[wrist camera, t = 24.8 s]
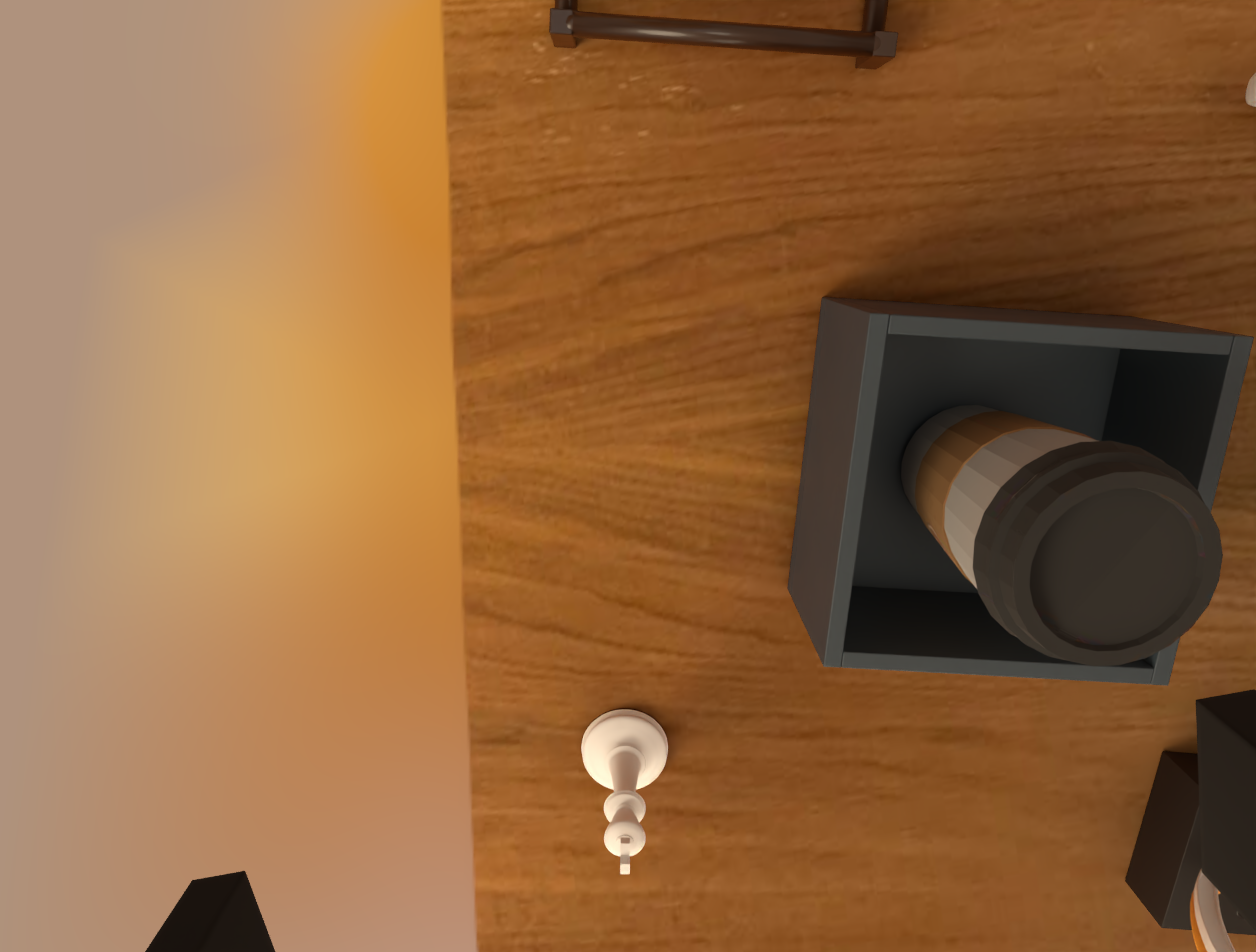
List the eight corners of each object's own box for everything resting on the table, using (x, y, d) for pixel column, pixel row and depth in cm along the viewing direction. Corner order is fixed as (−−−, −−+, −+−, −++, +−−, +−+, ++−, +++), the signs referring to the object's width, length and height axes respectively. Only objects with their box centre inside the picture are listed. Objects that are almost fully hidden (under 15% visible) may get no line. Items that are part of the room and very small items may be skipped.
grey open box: (787, 589, 48) (823, 667, 40) (821, 296, 44) (870, 312, 36) (1071, 605, 49) (1168, 685, 40) (1131, 316, 45) (1254, 336, 36)
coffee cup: (844, 483, 46) (947, 598, 31) (951, 350, 44) (1112, 407, 30) (967, 570, 47) (1121, 720, 33) (1075, 445, 45) (1289, 544, 31)
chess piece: (581, 784, 51) (572, 912, 42) (581, 708, 50) (571, 821, 41) (667, 785, 52) (677, 912, 42) (668, 709, 50) (679, 822, 41)
